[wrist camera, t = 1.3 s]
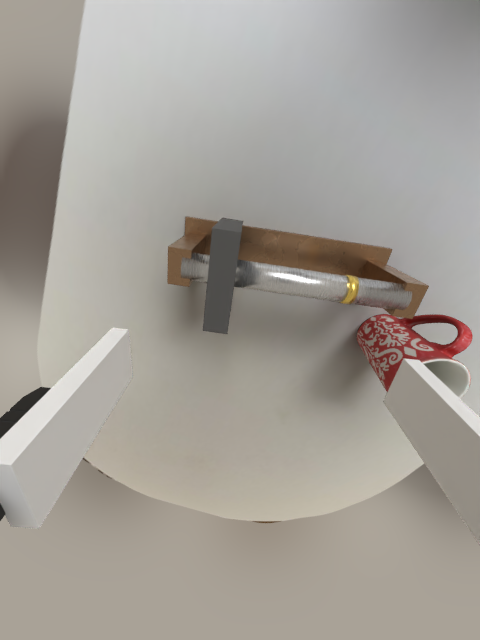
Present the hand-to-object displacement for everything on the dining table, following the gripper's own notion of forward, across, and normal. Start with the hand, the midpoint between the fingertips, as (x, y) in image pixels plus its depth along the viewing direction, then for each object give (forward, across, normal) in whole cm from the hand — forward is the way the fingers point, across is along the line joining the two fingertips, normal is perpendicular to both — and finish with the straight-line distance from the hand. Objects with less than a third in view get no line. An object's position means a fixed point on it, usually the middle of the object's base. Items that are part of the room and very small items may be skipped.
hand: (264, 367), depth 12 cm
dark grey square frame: (+23, -3, 0) cm, 23 cm away
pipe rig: (+27, +5, -1) cm, 28 cm away
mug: (+28, +24, -9) cm, 38 cm away
